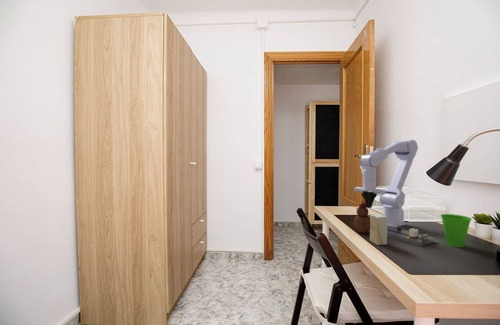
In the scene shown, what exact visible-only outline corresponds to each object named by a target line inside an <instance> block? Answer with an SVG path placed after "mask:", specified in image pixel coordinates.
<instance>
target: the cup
mask: <svg viewBox="0 0 500 325" xmlns="http://www.w3.org/2000/svg"><path fill="white" fill-rule="evenodd" d="M440 217H441V221H442V226H443V232H444V238H445V242H446V244H447V245H448V246H450V247H456V248H464V246H465V244H466V241H467V235H468V231H469V227H470V225H471V224H470V223H471V221H473V220H472V218H471V217H468V216H466V215H461V214H455V213H454V214H453V213H452V214H451V213H443V214H440Z"/></svg>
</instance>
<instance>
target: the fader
mask: <svg viewBox="0 0 500 325" xmlns="http://www.w3.org/2000/svg"><path fill="white" fill-rule="evenodd" d="M408 231H409V236H411V237H417V236H418V234H419V229H418V228H409V229H408Z"/></svg>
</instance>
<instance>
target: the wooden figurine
mask: <svg viewBox="0 0 500 325" xmlns="http://www.w3.org/2000/svg"><path fill="white" fill-rule="evenodd" d="M358 205H359V206H358V207H357V208H356V214H357V215H355V217H354V221H353V222H354V226H355V230H356V231H357V232H359V233H363V234H366V233H369V232H370V215H369V208H367V207H366V199H365V200H364V199H363V200H362V202H361V203H360V204H358ZM368 215H369V216H368Z"/></svg>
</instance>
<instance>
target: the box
mask: <svg viewBox="0 0 500 325" xmlns="http://www.w3.org/2000/svg"><path fill="white" fill-rule="evenodd" d="M369 217H370V230H369V241H370V242H372V243H373V244H375V245H378V246H380V245H388V236H387V226H388V225H387V223H388V217H386V216H384V215H383V214H380V213H371V214H370V215H369Z"/></svg>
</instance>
